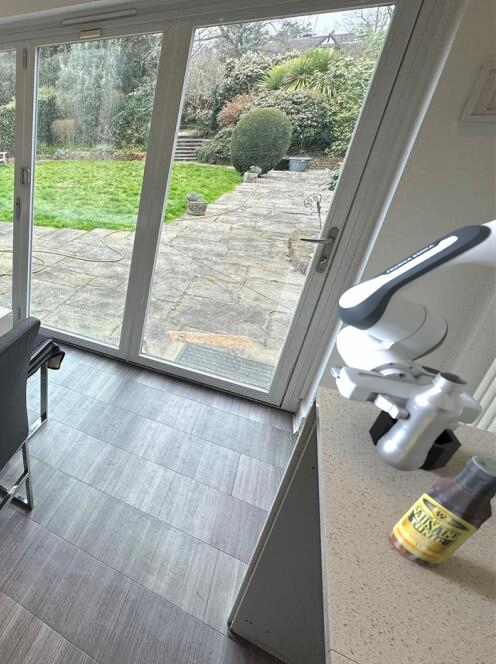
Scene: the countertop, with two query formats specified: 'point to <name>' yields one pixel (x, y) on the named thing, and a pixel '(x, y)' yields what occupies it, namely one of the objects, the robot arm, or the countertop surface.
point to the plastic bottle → (422, 422)
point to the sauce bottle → (447, 514)
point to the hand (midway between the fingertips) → (426, 421)
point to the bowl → (438, 452)
